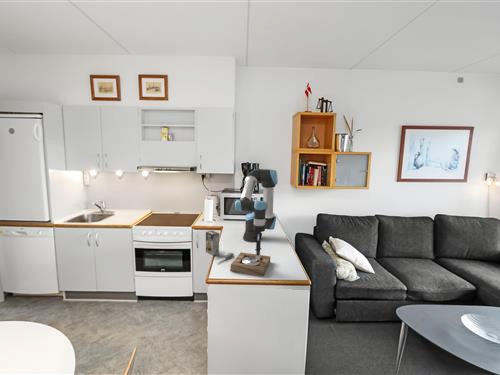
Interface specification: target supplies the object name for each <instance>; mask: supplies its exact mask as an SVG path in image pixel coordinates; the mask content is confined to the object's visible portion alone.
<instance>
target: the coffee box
mask: <svg viewBox="0 0 500 375" xmlns="http://www.w3.org/2000/svg"><path fill="white" fill-rule="evenodd" d="M205 253H206V254H209V255H210V256H216V255H219V254H220V233H219V232H216V231H215V230H209V231H206V232H205Z"/></svg>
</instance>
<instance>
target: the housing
mask: <svg viewBox="0 0 500 375" xmlns="http://www.w3.org/2000/svg"><path fill="white" fill-rule="evenodd" d="M245 257H256V253H249V252H241V251H240V252H239V254H238V255H237V256H236V258H235V259H234V260H233V261H232V262H231V263H230V272H234V273H240V274H247V275H252V276H258V277H264V276H265V275H266V272H267V269H268V268H269V267H270V266H269V265H270V264H271V256H269V255H264V254H263V255H262V254H260V260H261V264H260V266H253V265H247V264H242V259H243V258H245Z"/></svg>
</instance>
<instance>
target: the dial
mask: <svg viewBox="0 0 500 375" xmlns="http://www.w3.org/2000/svg"><path fill="white" fill-rule="evenodd" d="M242 264H247V265H253V266H260V264H261V260H256V257H245V258H243V259H242Z"/></svg>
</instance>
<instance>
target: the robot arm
mask: <svg viewBox="0 0 500 375" xmlns="http://www.w3.org/2000/svg"><path fill="white" fill-rule="evenodd" d="M278 178H279V177H278V171H277V170H275V169H268V168H264V169H263V168H255V169H253V170H251V171H250V172H249V173H248V174H246V177H245V179H244V181H245V183H244V185H243V186H244V187H243V189H242V193H241V195H240V198H239V199H237V200H236V201H235V204H234V209H235V211H237V212H238V211H239V212H246V213H247V212H248V213H247V214H246V215H245V223H244V224H245V225H244V226H245V228H244V229H245V230H244V232H243V236H242V239H243V241H244V242H249V243H255V245H256V246H255V248H254V250H255V254H256V260H260V255H261V250H262V248H261V242H262V238H263V237H262V236H263V232H265V230H269V231H270V230H272V231H273V230H274V229H275V226H276V222H277V216H275V213H274V189H275V187H276V186H277V185H278V181H279V180H278ZM257 184H260V185H261V187H262V200H256V201H255V200H252V199H253V198H252V197H253V193H254V191H255V187H256V185H257Z"/></svg>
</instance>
